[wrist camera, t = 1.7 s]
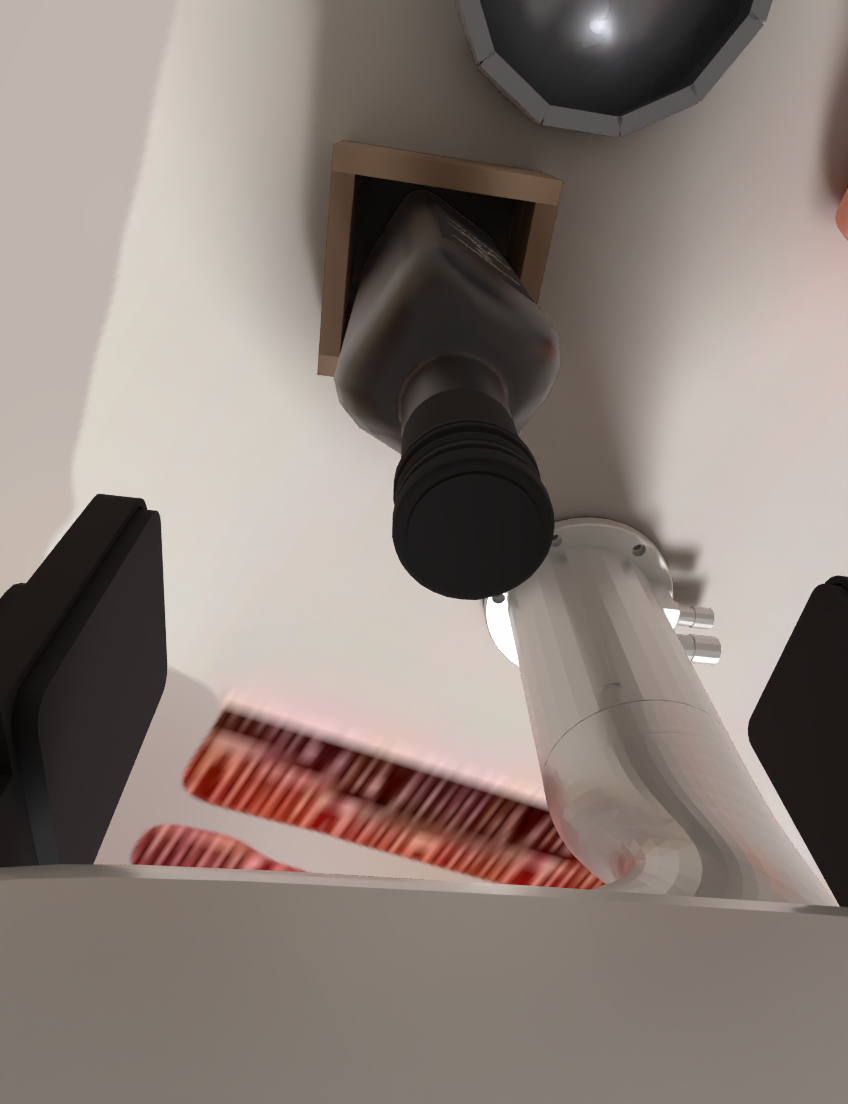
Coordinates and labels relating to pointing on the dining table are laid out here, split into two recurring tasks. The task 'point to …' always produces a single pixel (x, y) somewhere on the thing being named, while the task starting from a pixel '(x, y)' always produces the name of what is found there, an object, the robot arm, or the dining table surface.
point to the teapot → (843, 215)
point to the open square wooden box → (355, 159)
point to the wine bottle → (452, 398)
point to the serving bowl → (607, 55)
